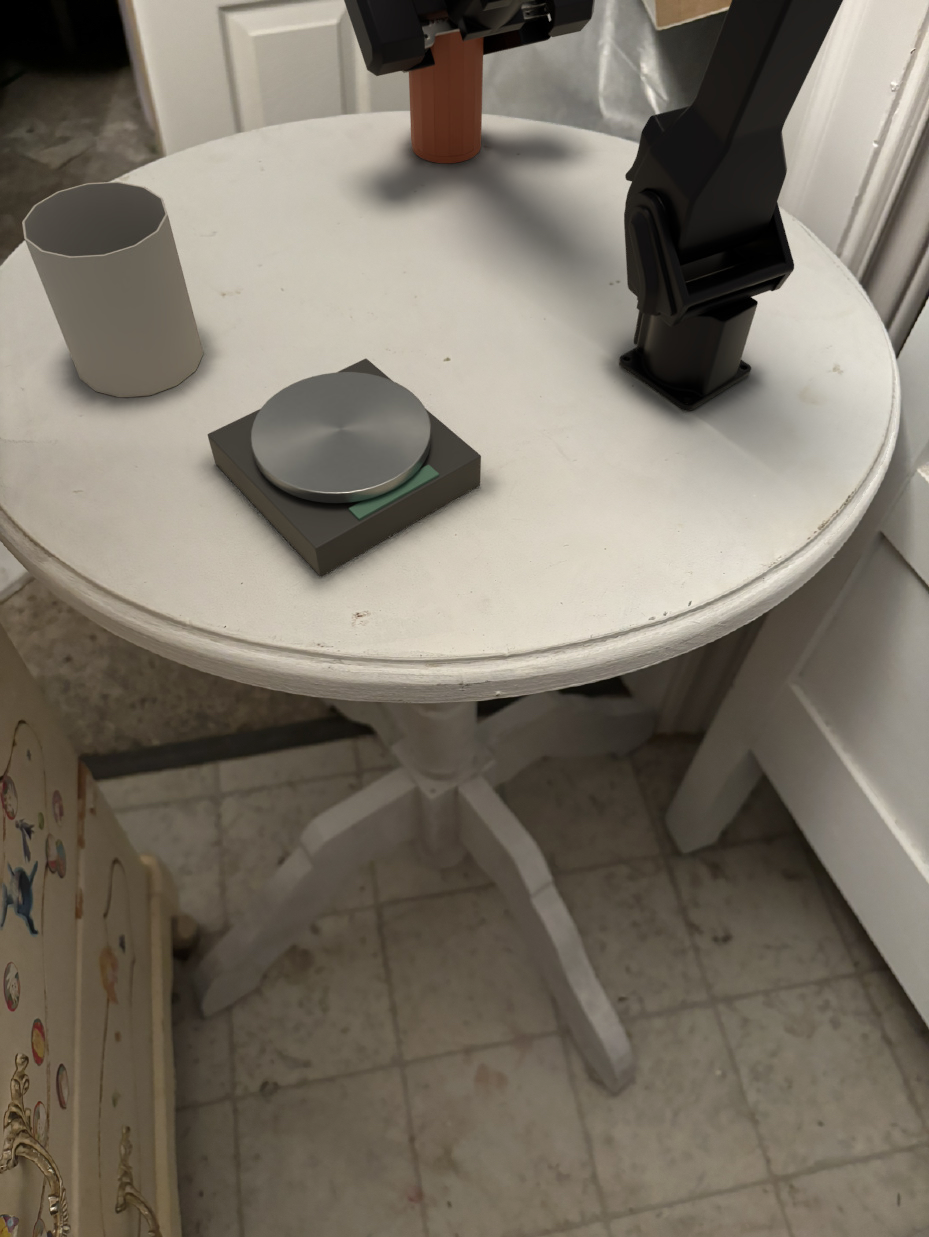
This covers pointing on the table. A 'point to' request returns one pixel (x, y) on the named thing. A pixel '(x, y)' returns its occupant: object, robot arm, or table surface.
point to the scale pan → (341, 437)
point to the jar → (448, 101)
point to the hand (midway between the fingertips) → (438, 58)
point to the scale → (354, 526)
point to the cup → (115, 286)
